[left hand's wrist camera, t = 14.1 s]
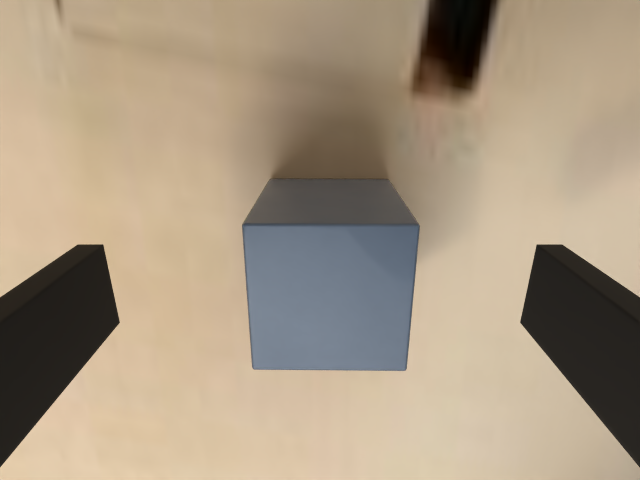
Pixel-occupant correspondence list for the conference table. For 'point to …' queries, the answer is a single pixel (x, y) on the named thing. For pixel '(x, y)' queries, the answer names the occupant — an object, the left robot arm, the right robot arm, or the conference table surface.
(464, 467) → the conference table surface
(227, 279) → the conference table surface
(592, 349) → the left robot arm
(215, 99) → the conference table surface
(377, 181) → the slate block
